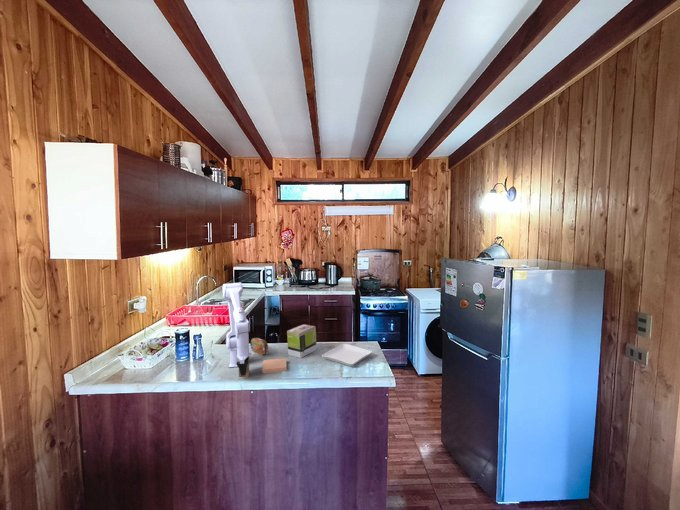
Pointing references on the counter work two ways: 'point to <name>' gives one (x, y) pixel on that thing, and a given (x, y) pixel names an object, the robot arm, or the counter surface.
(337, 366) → the counter surface
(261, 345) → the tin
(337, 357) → the salad plate
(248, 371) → the walnut block
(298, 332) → the tea box
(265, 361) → the terracotta trivet
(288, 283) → the counter surface
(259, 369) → the counter surface
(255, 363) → the counter surface
